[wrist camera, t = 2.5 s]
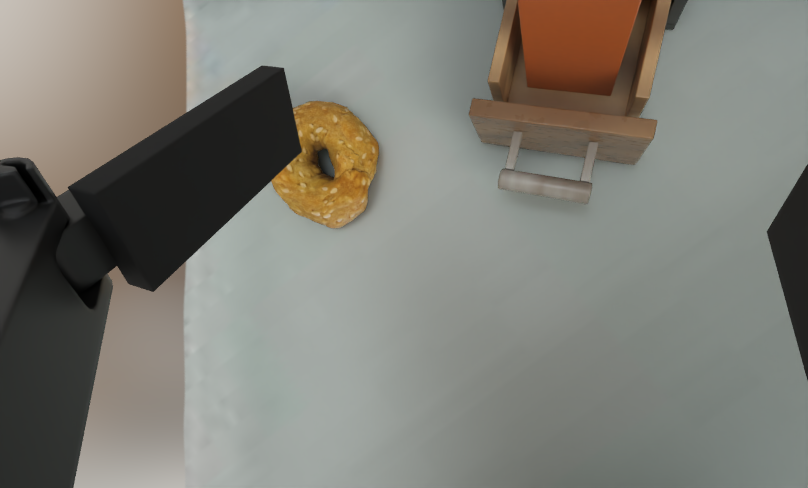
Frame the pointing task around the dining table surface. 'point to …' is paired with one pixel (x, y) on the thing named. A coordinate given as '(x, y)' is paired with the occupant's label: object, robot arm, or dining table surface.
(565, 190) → the drawer
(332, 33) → the dining table surface
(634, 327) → the dining table surface
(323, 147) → the bagel
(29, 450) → the robot arm
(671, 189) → the dining table surface
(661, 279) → the dining table surface
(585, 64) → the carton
